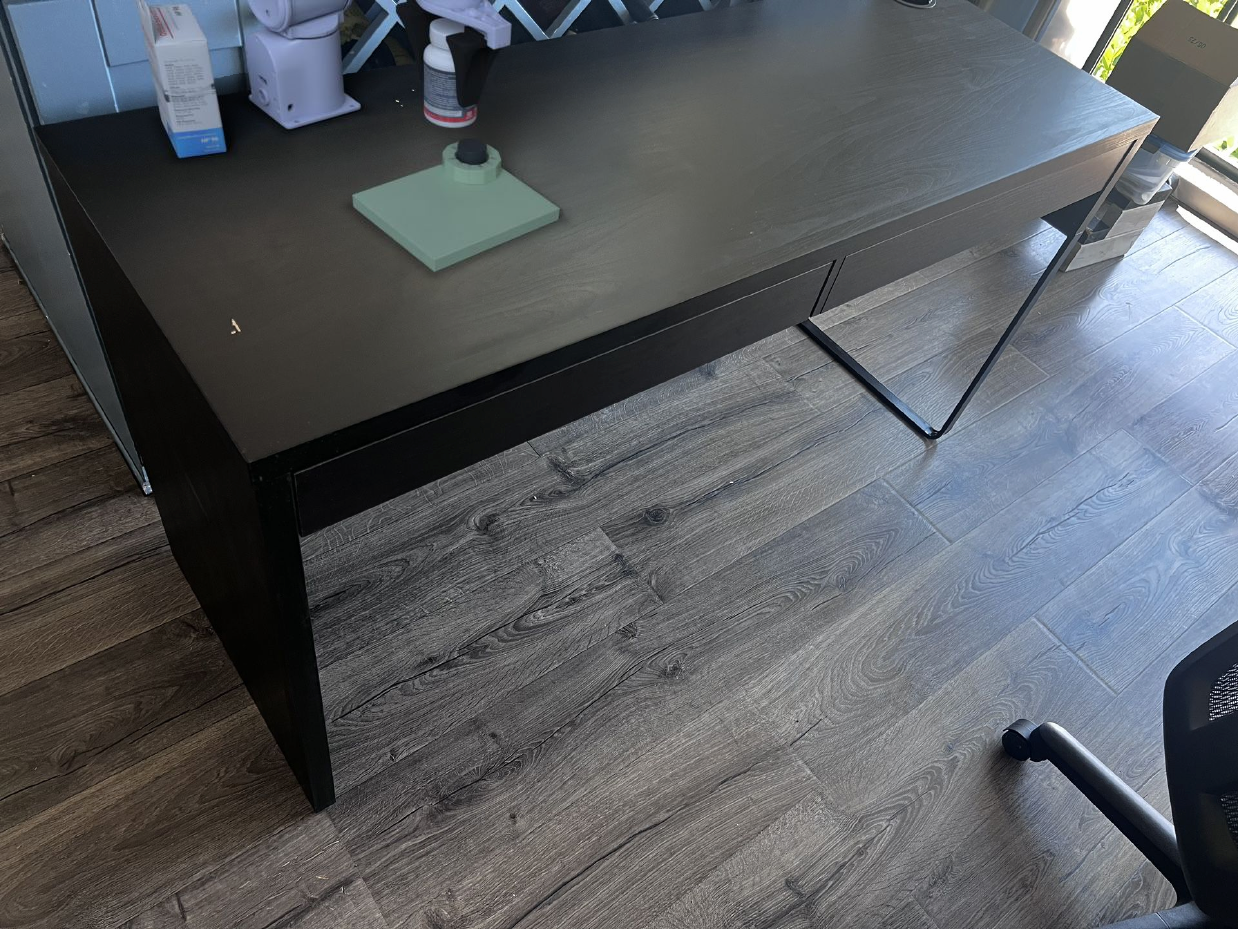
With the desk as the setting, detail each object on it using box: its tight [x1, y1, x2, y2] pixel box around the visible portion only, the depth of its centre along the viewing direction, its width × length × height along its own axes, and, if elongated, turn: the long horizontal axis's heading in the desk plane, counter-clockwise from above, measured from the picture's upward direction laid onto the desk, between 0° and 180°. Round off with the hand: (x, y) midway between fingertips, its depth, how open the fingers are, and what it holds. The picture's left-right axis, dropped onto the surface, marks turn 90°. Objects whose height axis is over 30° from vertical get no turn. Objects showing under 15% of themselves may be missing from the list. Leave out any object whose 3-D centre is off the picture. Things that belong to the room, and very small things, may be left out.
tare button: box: [457, 137, 488, 165], centre depth 97 cm, size 3×3×2 cm
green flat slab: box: [351, 141, 561, 273], centre depth 94 cm, size 16×14×3 cm
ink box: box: [135, 0, 227, 159], centre depth 93 cm, size 8×5×15 cm, turn 29°
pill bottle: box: [423, 18, 478, 129], centre depth 91 cm, size 5×5×9 cm
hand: (450, 91), depth 93 cm, fingers closed on pill bottle, 5 cm apart
